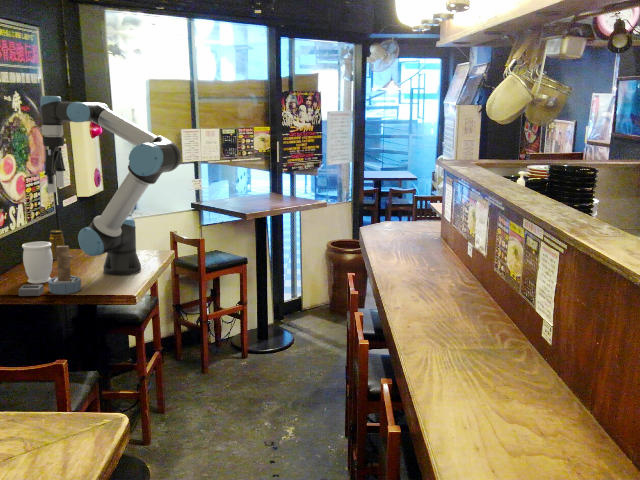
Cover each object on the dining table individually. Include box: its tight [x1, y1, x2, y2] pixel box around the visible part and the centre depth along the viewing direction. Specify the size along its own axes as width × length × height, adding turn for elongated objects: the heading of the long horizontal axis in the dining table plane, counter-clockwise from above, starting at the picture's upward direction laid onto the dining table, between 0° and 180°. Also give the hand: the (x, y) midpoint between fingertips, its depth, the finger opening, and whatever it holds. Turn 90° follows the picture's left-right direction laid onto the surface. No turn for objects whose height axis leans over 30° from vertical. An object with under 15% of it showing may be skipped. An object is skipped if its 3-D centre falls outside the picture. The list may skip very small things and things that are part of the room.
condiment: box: [49, 229, 73, 260], centre depth 273 cm, size 7×8×12 cm
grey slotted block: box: [18, 284, 45, 297], centre depth 222 cm, size 7×6×2 cm
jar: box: [21, 240, 54, 285], centre depth 236 cm, size 11×10×15 cm
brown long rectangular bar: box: [56, 245, 72, 281], centre depth 226 cm, size 4×2×16 cm, turn 100°
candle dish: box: [47, 275, 82, 296], centre depth 227 cm, size 11×11×4 cm
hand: (56, 189), depth 242 cm, fingers open, 13 cm apart
